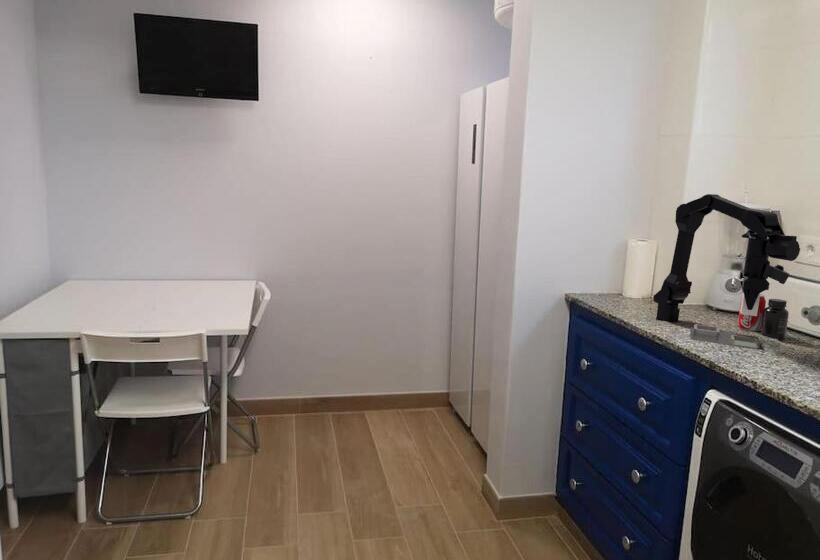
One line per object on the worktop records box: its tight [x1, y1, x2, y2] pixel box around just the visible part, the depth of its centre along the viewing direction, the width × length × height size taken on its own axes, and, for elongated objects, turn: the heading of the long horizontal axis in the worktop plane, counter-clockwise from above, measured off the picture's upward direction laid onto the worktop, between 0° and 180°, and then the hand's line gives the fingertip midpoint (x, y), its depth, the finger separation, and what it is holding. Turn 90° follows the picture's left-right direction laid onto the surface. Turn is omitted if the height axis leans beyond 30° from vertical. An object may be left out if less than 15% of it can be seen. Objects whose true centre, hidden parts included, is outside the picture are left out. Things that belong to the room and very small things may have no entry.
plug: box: [739, 292, 761, 316], centre depth 178 cm, size 4×4×7 cm
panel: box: [689, 323, 763, 351], centre depth 186 cm, size 19×16×2 cm
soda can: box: [737, 293, 767, 332], centre depth 198 cm, size 7×7×12 cm
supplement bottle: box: [760, 298, 790, 341], centre depth 191 cm, size 7×7×12 cm
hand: (749, 308), depth 179 cm, fingers closed on plug, 4 cm apart
